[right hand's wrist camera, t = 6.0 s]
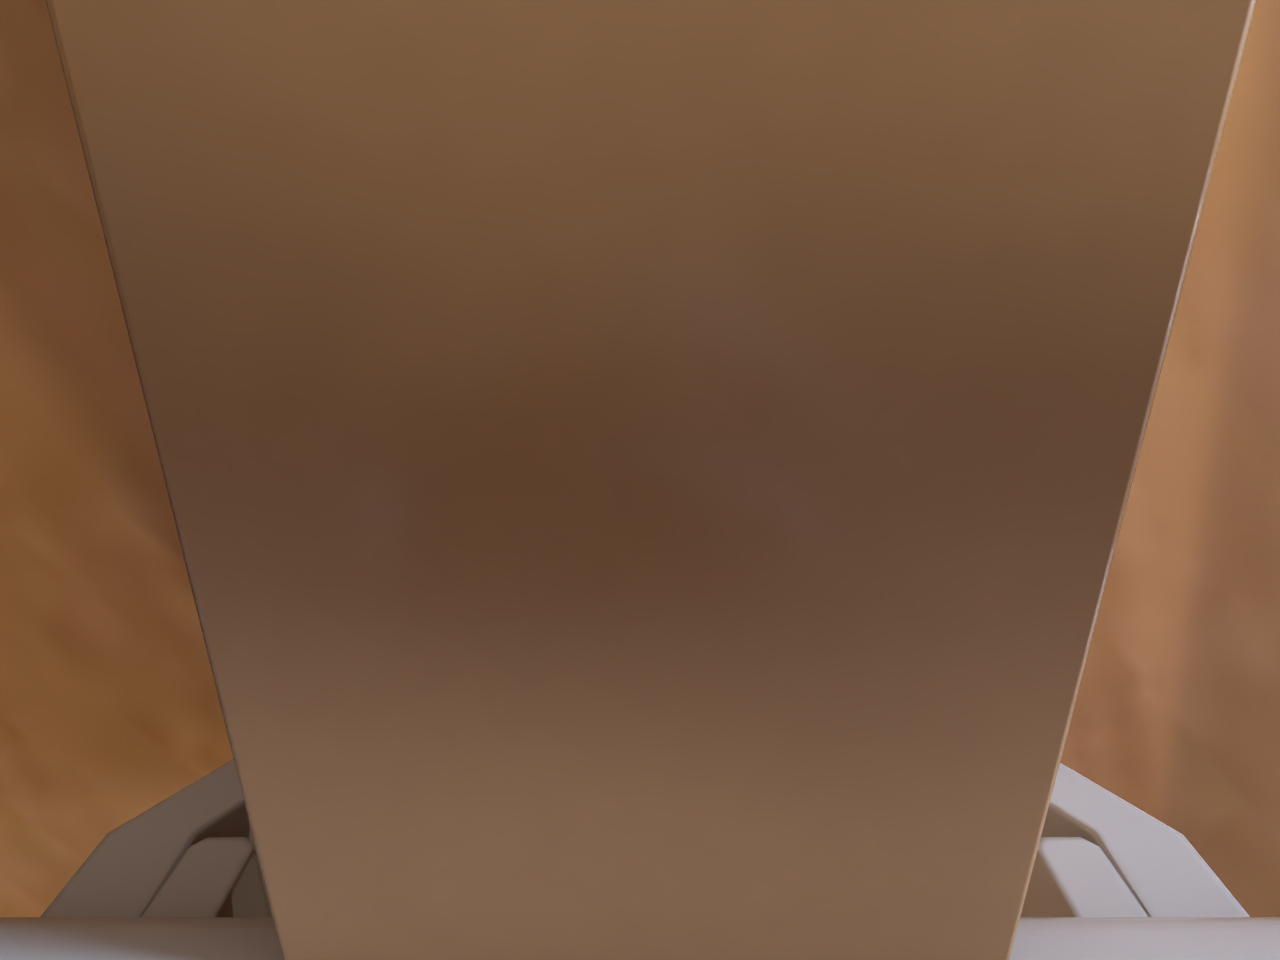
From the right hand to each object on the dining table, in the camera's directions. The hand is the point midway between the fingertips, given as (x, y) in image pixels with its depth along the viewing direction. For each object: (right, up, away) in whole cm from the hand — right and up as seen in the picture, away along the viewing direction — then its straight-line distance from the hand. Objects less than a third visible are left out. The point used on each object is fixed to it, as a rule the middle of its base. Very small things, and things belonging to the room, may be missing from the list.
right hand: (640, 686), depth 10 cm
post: (0, +28, -8) cm, 29 cm away
